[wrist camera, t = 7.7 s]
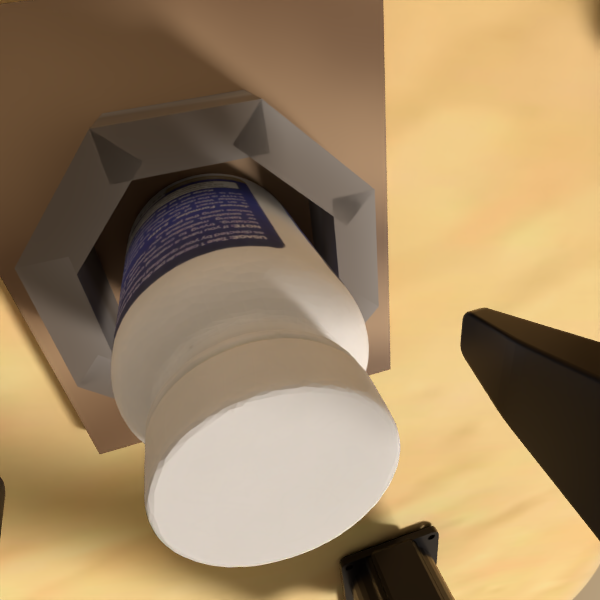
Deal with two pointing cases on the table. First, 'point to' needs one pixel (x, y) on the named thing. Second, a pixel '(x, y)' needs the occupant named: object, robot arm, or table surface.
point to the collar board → (180, 152)
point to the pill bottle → (245, 379)
